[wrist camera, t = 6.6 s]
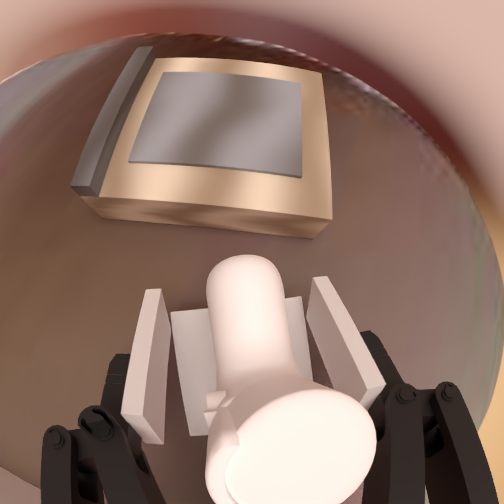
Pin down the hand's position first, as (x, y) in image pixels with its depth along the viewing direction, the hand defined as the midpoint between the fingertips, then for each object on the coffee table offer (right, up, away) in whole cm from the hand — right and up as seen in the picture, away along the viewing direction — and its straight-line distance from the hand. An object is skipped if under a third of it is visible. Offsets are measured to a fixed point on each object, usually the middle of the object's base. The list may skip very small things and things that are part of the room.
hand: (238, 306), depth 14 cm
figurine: (0, -5, +4) cm, 6 cm away
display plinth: (-2, +11, +8) cm, 14 cm away
